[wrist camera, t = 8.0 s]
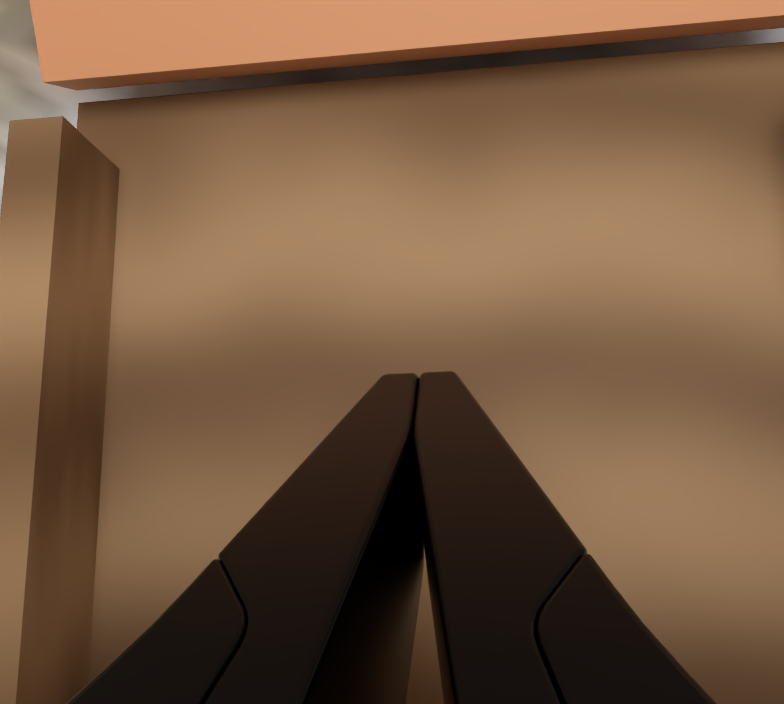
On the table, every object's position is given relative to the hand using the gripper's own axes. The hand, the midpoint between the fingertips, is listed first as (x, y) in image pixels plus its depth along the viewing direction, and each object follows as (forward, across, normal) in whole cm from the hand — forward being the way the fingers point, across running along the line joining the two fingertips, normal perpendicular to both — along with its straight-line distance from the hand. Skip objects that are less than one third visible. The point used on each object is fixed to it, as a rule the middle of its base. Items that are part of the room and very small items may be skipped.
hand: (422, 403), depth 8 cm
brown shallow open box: (+8, 0, +6) cm, 10 cm away
